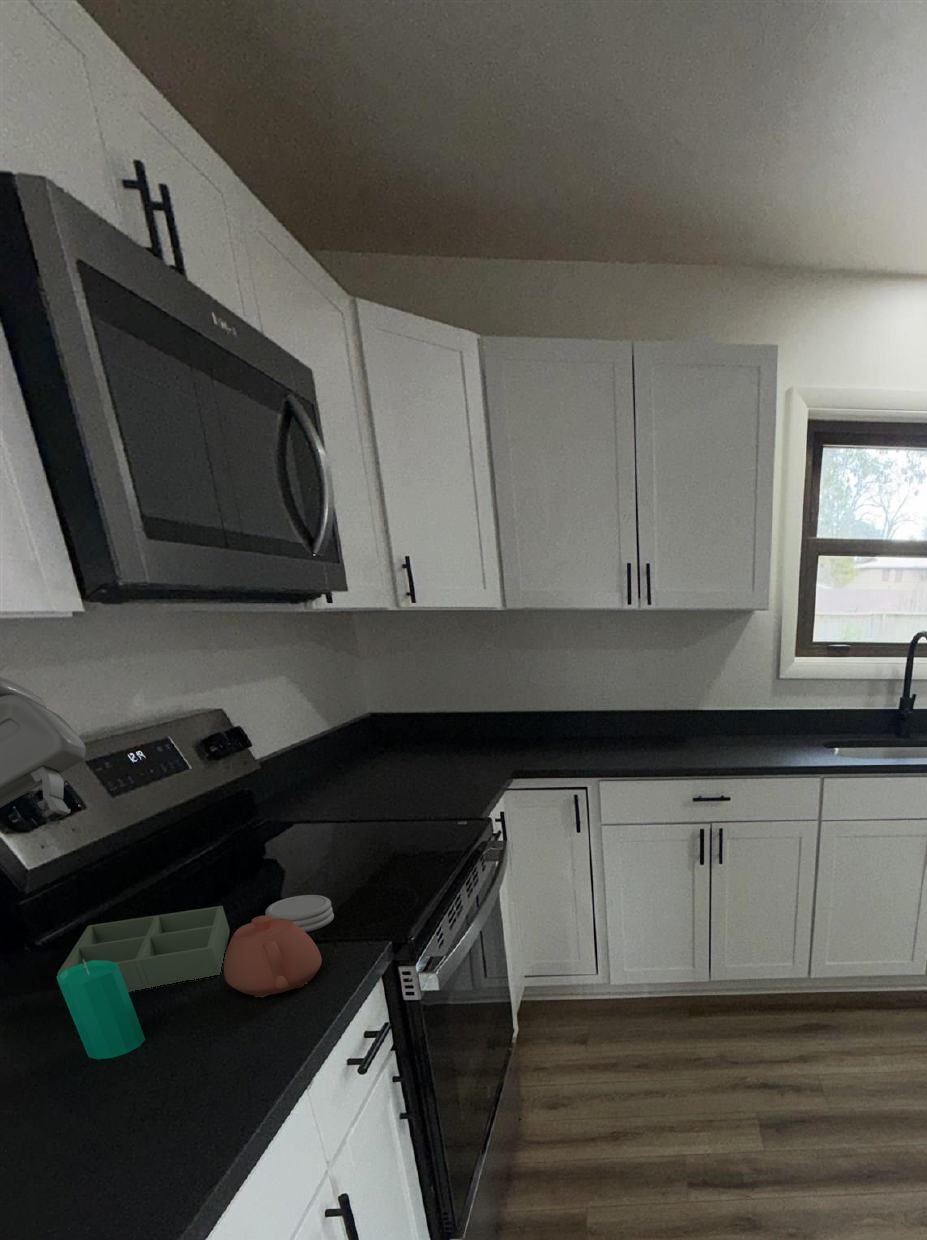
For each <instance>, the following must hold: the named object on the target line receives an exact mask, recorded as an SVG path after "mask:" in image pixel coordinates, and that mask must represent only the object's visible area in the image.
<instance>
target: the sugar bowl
mask: <svg viewBox="0 0 927 1240" xmlns="http://www.w3.org/2000/svg"><path fill="white" fill-rule="evenodd" d="M322 961H323V959H322V955H321V952H320V949H319V948H318V946H317V944H316V943H315V942H314V940H313V939H312V937H310V935H309V934H308V932H306V933H305V932H304V931H303V930H302V929H301V928H300V927H299V926H297V925H296V924H295V923H293V922H292V921H290V920H287V919H282V918H273V919H272V917H271V916H266V914H265V915H259V916H256V917H254V918H252V919H251V922H249V923H246V924H244V925H242V926H240V927H239V928H237V929H236V930H235V932H234V933H233V935H232V936H231V939H230V941H229V943H228V945H227V947H226V952H225V957H224V961H223V975H224V979H225V982H226V984H228V985H229V986H230V987H231V988H233V989H235V990H236V991H238V992H241V993H242V994H246V995H250V996H254V998H257V997H261V998H265V997H267V996H270V995H276V994H280V993H284V992H288V991H292V990H294V989H300V987H301V988H303V987H302V986H304V984H307V985H308V982H310V981H311V980H312V979H313V978H314V977H315V975H316V974H317V972H318V971H319V969H320V968H321V965H322ZM304 987H305V986H304Z"/></svg>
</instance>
